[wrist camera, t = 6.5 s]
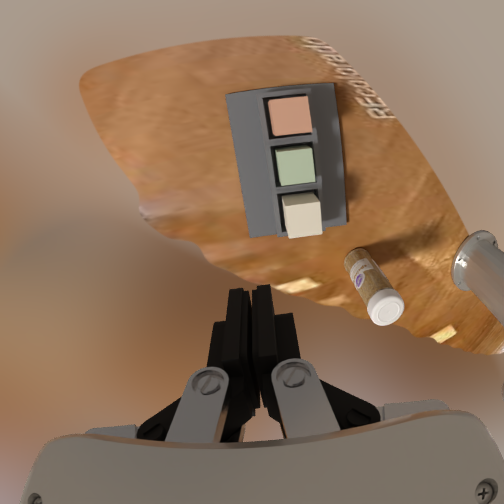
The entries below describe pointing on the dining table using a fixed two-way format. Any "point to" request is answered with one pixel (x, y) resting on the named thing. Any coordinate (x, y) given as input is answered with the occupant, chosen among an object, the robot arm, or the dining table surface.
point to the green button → (295, 164)
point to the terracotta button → (290, 115)
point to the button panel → (264, 141)
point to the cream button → (302, 214)
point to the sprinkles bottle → (374, 287)
